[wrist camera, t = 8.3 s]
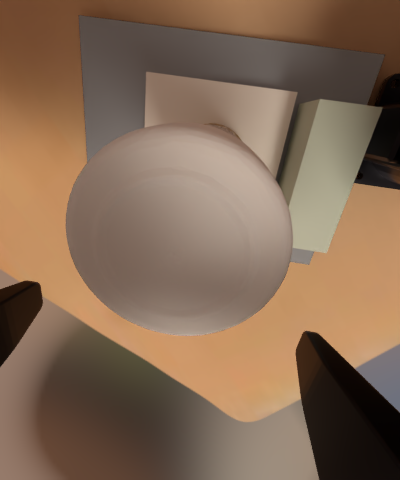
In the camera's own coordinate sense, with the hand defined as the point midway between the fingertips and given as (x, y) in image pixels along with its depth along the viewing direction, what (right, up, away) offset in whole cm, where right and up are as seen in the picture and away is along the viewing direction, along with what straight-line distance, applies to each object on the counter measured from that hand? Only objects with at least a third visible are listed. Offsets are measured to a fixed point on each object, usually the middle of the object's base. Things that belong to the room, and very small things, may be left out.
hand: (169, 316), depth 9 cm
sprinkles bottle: (+2, +8, +8) cm, 12 cm away
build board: (+2, +9, +10) cm, 13 cm away
